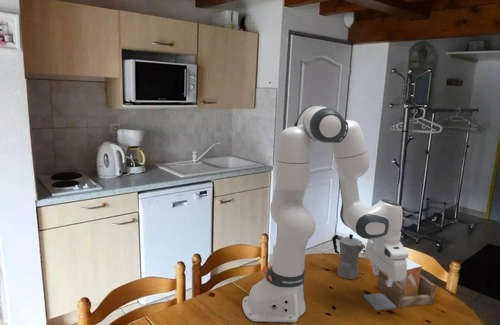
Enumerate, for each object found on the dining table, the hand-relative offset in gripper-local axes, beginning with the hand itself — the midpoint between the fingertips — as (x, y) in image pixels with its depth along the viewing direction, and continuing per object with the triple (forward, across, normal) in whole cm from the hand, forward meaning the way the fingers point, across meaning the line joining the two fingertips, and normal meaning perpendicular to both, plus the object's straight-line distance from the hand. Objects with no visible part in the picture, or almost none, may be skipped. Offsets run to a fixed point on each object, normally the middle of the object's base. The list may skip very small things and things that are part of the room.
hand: (381, 279), depth 132 cm
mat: (+9, 0, 0) cm, 9 cm away
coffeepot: (+9, -23, -2) cm, 25 cm away
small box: (+9, -3, +12) cm, 16 cm away
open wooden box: (+9, -3, +12) cm, 16 cm away
